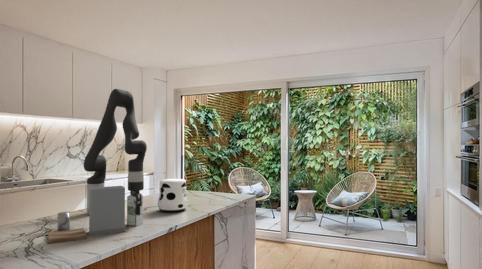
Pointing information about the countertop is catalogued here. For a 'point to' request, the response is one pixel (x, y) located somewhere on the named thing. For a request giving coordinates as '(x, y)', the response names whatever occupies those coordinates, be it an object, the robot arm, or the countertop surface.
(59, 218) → the metal cylinder
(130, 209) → the syrup box
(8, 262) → the countertop surface
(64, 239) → the board
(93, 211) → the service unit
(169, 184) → the milk container
